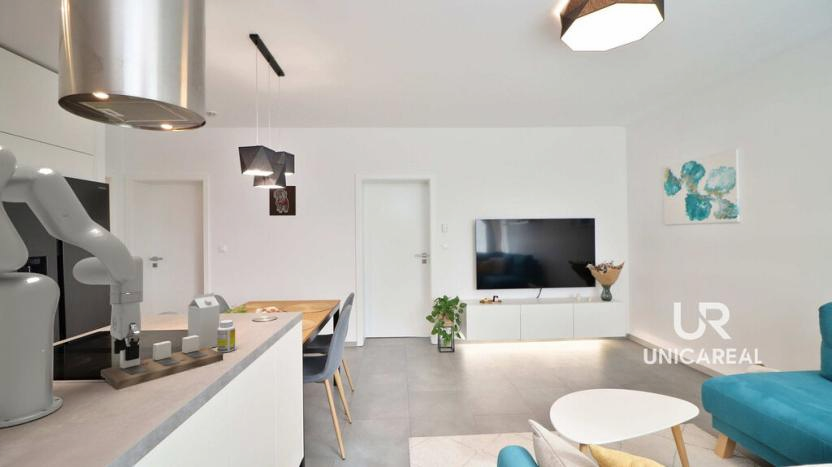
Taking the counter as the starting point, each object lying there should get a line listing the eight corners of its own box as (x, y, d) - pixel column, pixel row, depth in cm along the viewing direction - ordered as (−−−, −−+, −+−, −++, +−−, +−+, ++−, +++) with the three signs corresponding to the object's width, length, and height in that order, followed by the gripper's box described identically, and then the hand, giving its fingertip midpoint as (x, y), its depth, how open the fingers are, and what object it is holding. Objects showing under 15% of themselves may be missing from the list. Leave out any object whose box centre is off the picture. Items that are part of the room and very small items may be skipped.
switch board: (117, 389, 92) (117, 381, 92) (100, 376, 100) (101, 369, 101) (223, 360, 114) (223, 353, 114) (202, 351, 123) (202, 345, 123)
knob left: (122, 368, 100) (122, 352, 100) (119, 366, 102) (120, 350, 102) (139, 364, 104) (140, 348, 104) (137, 362, 105) (137, 347, 105)
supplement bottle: (233, 346, 128) (233, 318, 128) (236, 351, 124) (236, 321, 124) (216, 349, 125) (216, 320, 125) (218, 354, 120) (218, 323, 120)
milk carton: (187, 348, 126) (188, 295, 126) (207, 343, 132) (207, 292, 132) (199, 351, 123) (200, 296, 123) (219, 346, 129) (219, 293, 129)
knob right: (185, 353, 113) (185, 339, 113) (182, 351, 115) (182, 337, 115) (198, 350, 117) (198, 336, 117) (195, 348, 118) (195, 335, 118)
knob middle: (155, 360, 107) (156, 345, 107) (152, 358, 108) (153, 344, 108) (171, 356, 110) (171, 342, 110) (167, 355, 112) (168, 340, 112)
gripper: (101, 296, 107) (101, 353, 107) (120, 303, 97) (120, 366, 96) (132, 293, 113) (132, 347, 113) (153, 299, 103) (152, 358, 103)
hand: (126, 356), depth 105 cm, fingers open, 9 cm apart
